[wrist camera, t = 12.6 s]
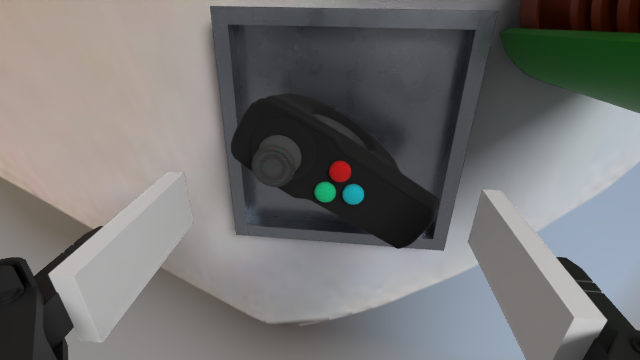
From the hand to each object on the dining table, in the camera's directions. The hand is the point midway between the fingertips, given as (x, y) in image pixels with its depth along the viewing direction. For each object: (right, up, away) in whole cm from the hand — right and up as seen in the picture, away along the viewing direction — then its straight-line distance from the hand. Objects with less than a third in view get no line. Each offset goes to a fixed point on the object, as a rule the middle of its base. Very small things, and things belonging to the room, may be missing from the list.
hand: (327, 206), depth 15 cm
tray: (+1, +5, +11) cm, 12 cm away
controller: (+1, +4, +10) cm, 11 cm away
